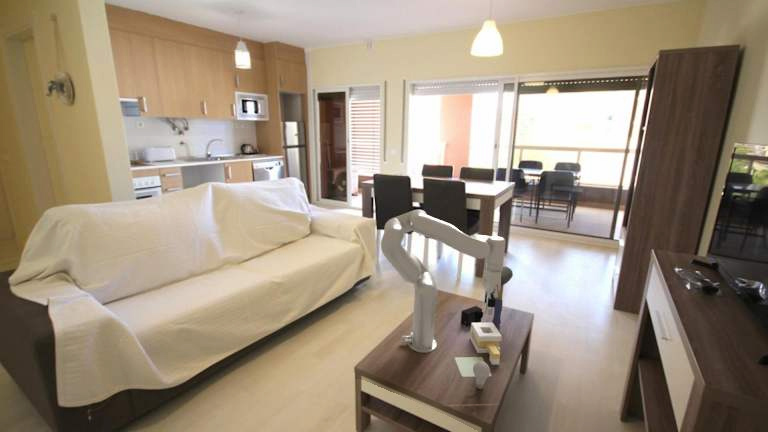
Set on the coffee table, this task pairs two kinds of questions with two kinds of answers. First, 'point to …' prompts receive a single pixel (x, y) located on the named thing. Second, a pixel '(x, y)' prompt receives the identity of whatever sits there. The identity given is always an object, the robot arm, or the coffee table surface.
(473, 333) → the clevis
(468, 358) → the pin mat
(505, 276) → the rubber mallet
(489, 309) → the steel pin
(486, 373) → the lightbulb
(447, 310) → the coffee table surface
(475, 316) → the digital camera
